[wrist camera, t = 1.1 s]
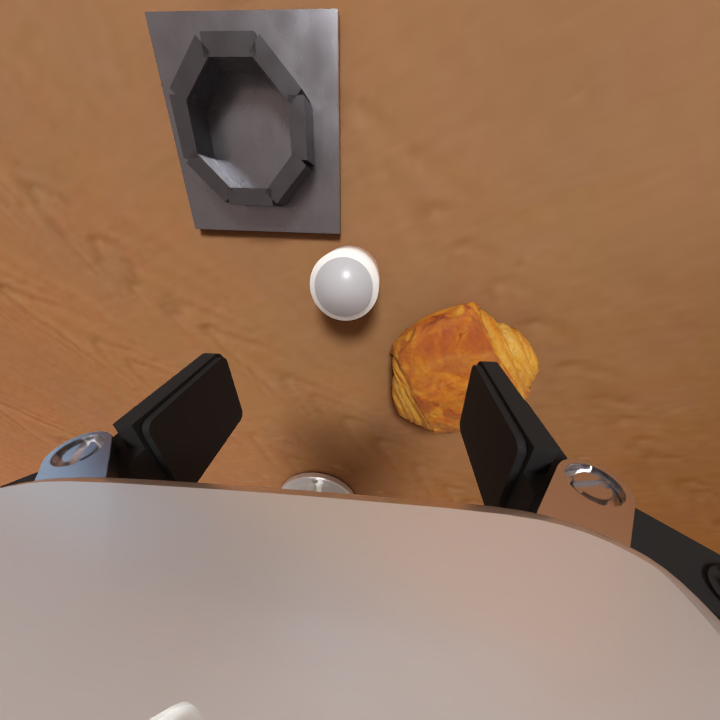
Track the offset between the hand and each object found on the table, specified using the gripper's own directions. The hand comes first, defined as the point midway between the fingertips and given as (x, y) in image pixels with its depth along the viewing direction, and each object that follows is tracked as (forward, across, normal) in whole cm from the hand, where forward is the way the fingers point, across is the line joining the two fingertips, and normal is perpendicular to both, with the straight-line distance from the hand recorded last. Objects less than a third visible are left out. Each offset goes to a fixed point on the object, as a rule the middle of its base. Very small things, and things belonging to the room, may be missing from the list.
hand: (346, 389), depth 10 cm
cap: (+20, +2, 0) cm, 20 cm away
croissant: (+20, -9, +10) cm, 24 cm away
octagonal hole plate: (+20, +10, -11) cm, 25 cm away
